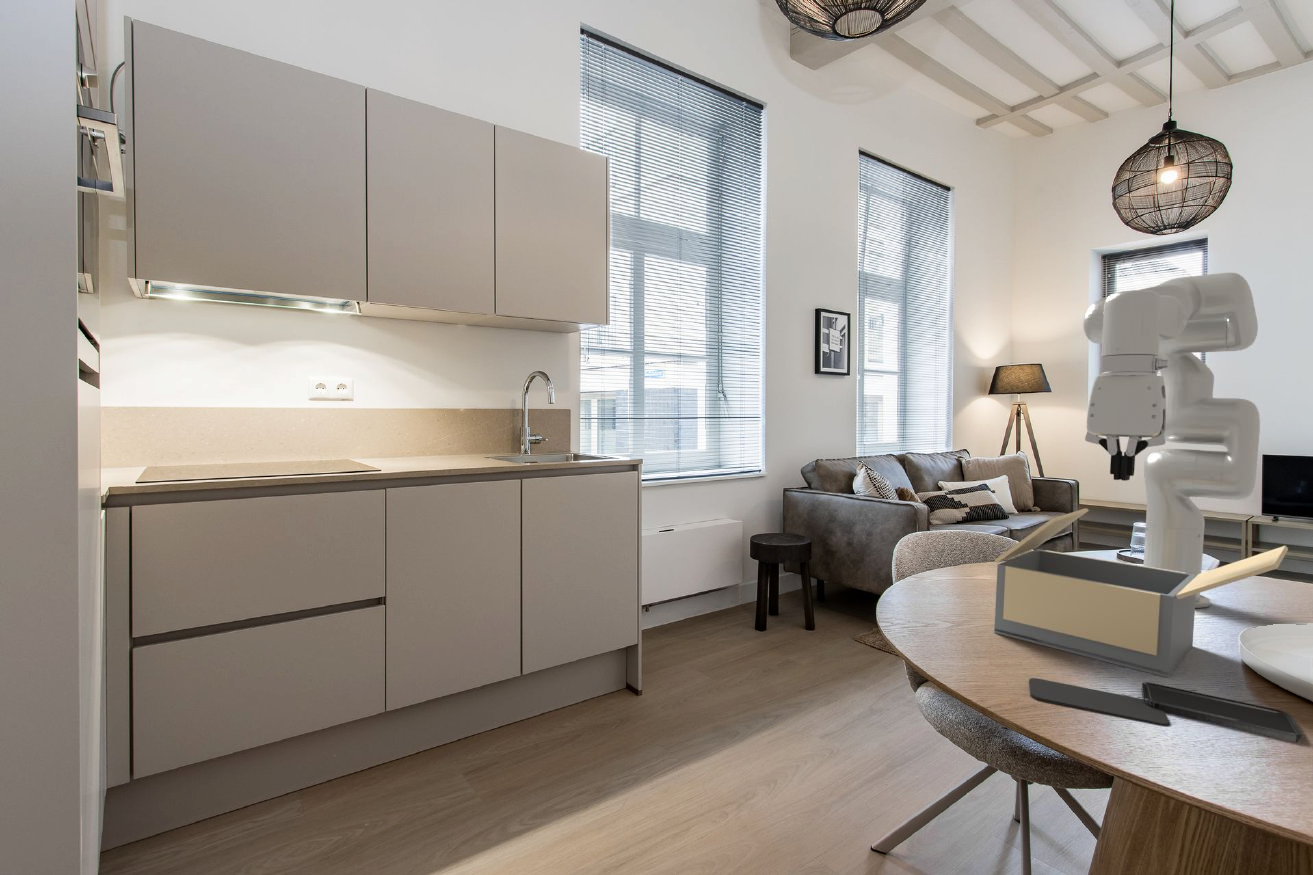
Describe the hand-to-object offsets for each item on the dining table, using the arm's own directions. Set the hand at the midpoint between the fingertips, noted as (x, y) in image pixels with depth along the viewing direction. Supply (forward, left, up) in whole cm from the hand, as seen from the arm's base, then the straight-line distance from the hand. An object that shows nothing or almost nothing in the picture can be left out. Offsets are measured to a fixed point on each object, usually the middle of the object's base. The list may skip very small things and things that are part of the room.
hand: (1121, 479), depth 106 cm
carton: (0, -3, -28) cm, 28 cm away
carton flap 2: (0, +14, -12) cm, 19 cm away
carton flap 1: (0, -11, -11) cm, 16 cm away
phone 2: (+19, +15, -28) cm, 37 cm away
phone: (+28, +4, -28) cm, 40 cm away
